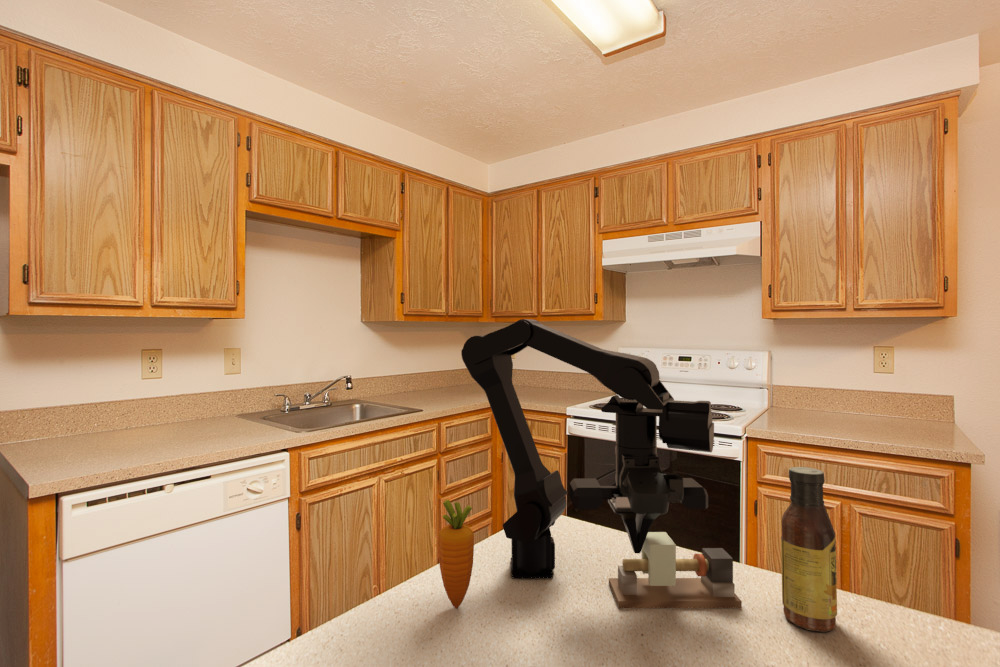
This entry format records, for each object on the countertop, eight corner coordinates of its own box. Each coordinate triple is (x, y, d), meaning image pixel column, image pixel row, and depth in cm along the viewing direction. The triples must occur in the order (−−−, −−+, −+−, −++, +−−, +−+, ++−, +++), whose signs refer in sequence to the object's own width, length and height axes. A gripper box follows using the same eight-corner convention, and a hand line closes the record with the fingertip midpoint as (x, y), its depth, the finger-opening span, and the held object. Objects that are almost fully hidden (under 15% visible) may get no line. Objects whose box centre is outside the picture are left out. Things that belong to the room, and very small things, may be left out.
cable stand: (618, 608, 69) (618, 563, 69) (608, 584, 76) (608, 543, 76) (741, 608, 69) (741, 563, 69) (721, 584, 76) (721, 543, 76)
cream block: (650, 585, 70) (650, 544, 70) (641, 570, 75) (641, 532, 75) (675, 585, 70) (675, 544, 70) (665, 570, 75) (665, 532, 75)
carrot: (481, 607, 70) (481, 500, 70) (455, 622, 66) (454, 509, 66) (457, 594, 73) (457, 492, 73) (431, 608, 70) (430, 500, 70)
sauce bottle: (846, 637, 63) (846, 479, 62) (791, 631, 64) (791, 476, 64) (823, 608, 69) (823, 465, 69) (774, 604, 70) (774, 463, 70)
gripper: (579, 459, 64) (580, 580, 65) (725, 458, 64) (725, 579, 64) (568, 440, 76) (569, 543, 76) (692, 439, 75) (693, 543, 75)
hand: (636, 552), depth 72 cm, fingers closed
